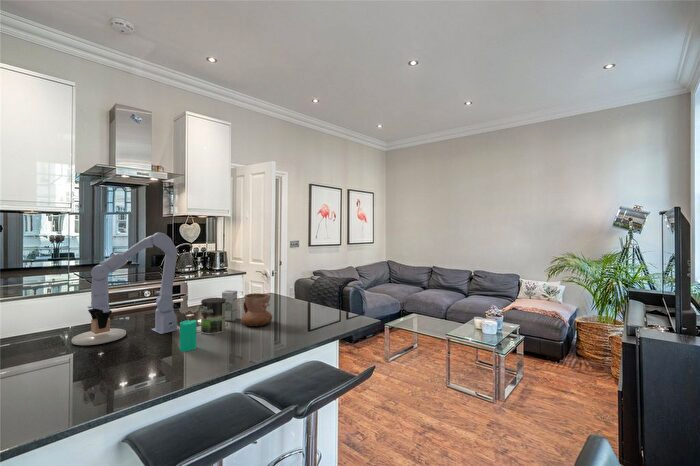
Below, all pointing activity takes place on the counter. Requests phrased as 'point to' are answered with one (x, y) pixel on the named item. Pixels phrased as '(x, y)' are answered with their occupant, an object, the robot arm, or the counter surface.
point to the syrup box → (230, 305)
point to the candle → (188, 335)
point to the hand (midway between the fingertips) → (99, 326)
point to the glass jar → (213, 315)
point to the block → (96, 329)
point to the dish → (98, 337)
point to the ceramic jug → (256, 309)
